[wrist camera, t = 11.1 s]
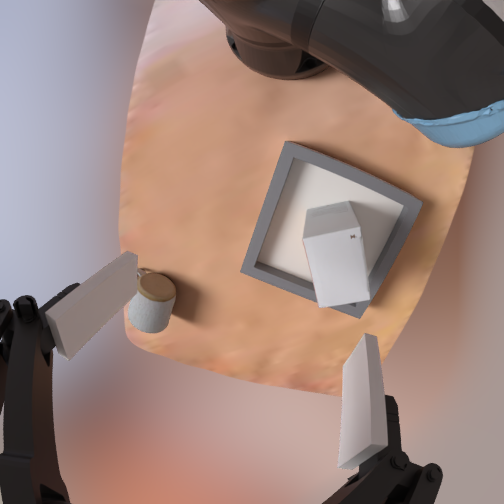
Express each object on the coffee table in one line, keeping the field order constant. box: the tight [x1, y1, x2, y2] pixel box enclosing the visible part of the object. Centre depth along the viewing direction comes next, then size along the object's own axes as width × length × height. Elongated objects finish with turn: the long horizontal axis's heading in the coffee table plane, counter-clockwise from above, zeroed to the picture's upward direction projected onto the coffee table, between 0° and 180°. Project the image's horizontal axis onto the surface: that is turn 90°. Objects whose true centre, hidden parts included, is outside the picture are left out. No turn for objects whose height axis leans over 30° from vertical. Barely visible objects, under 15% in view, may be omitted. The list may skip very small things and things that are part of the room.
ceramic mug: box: [128, 269, 176, 333], centre depth 44 cm, size 11×8×8 cm
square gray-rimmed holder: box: [240, 141, 423, 319], centre depth 34 cm, size 18×18×4 cm
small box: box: [302, 201, 371, 308], centre depth 30 cm, size 8×6×10 cm
